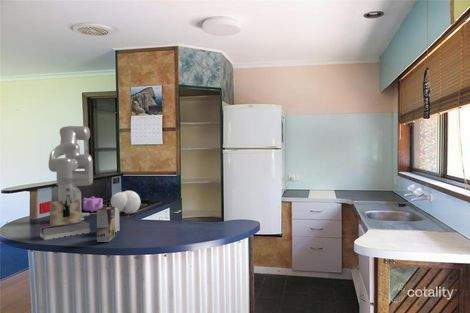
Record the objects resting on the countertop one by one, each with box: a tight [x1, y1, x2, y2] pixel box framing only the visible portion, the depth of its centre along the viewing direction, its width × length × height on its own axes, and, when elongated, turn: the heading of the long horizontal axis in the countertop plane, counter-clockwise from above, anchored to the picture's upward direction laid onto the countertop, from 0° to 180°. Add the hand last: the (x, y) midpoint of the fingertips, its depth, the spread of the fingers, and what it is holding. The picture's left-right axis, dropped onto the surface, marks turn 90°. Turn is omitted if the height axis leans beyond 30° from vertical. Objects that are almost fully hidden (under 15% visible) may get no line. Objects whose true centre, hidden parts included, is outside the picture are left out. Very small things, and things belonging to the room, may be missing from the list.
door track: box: [39, 220, 91, 241], centre depth 178 cm, size 22×9×5 cm, turn 133°
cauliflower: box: [110, 190, 141, 215], centre depth 234 cm, size 20×18×16 cm
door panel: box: [49, 199, 81, 226], centre depth 178 cm, size 14×3×12 cm, turn 133°
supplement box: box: [115, 209, 121, 233], centre depth 182 cm, size 7×7×13 cm
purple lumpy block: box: [82, 196, 104, 213], centre depth 246 cm, size 15×13×11 cm
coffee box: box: [96, 206, 116, 243], centre depth 165 cm, size 9×6×16 cm
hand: (65, 216), depth 178 cm, fingers closed on door panel, 3 cm apart
